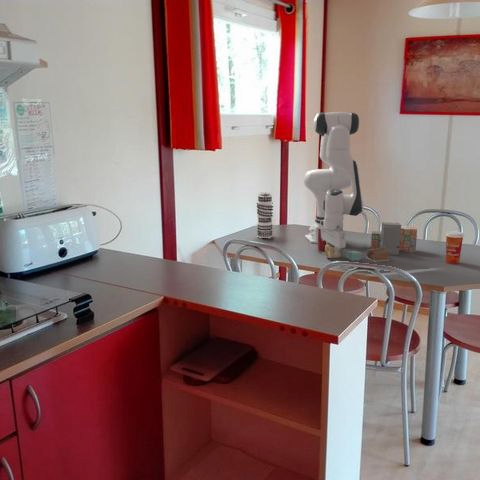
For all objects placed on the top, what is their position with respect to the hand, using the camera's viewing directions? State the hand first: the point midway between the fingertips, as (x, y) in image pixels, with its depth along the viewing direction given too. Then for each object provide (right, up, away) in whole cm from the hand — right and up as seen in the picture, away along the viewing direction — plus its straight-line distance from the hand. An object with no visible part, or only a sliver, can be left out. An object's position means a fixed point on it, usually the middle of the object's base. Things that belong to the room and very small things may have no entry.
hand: (332, 252), depth 254 cm
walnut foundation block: (+20, -3, -5) cm, 21 cm away
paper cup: (+54, -5, -8) cm, 55 cm away
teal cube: (+9, -4, -5) cm, 11 cm away
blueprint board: (+20, -4, -4) cm, 20 cm away
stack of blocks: (+33, 0, +14) cm, 36 cm away
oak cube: (0, -2, 0) cm, 2 cm away
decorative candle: (-30, +8, +46) cm, 56 cm away
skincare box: (+29, -1, +6) cm, 30 cm away
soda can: (-2, 0, +14) cm, 14 cm away
